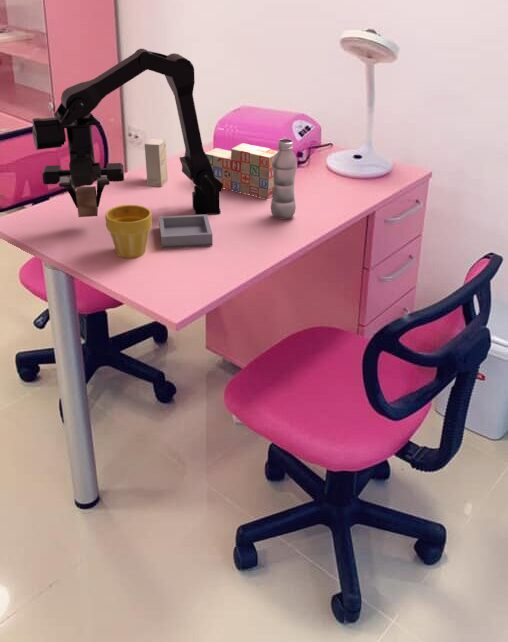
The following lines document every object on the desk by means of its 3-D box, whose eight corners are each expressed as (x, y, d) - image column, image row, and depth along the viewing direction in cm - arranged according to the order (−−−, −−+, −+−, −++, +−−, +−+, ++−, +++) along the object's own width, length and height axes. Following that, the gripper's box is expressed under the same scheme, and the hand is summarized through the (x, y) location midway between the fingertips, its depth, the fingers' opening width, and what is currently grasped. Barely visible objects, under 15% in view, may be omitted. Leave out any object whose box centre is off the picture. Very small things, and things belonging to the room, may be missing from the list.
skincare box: (161, 187, 205) (159, 145, 198) (146, 186, 205) (143, 143, 199) (168, 179, 210) (166, 138, 204) (153, 178, 211) (151, 137, 204)
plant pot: (157, 259, 166) (154, 219, 161) (111, 264, 163) (107, 224, 158) (149, 240, 174) (147, 202, 169) (106, 245, 172) (102, 206, 166)
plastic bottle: (299, 214, 189) (302, 139, 179) (289, 223, 184) (292, 146, 174) (276, 210, 192) (279, 135, 181) (266, 219, 186) (268, 142, 176)
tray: (207, 225, 182) (207, 214, 181) (212, 245, 172) (212, 234, 171) (159, 227, 181) (158, 216, 179) (161, 248, 170) (161, 236, 169)
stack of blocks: (204, 184, 207) (203, 142, 201) (216, 178, 212) (216, 137, 205) (268, 200, 198) (269, 156, 191) (279, 193, 202) (281, 150, 196)
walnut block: (97, 209, 180) (95, 186, 177) (97, 216, 176) (95, 192, 173) (79, 210, 179) (76, 187, 176) (78, 217, 175) (75, 193, 172)
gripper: (36, 157, 161) (45, 222, 169) (121, 154, 163) (126, 218, 171) (40, 141, 170) (49, 204, 178) (121, 139, 173) (126, 200, 181)
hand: (87, 207), depth 177 cm, fingers closed on walnut block, 4 cm apart
